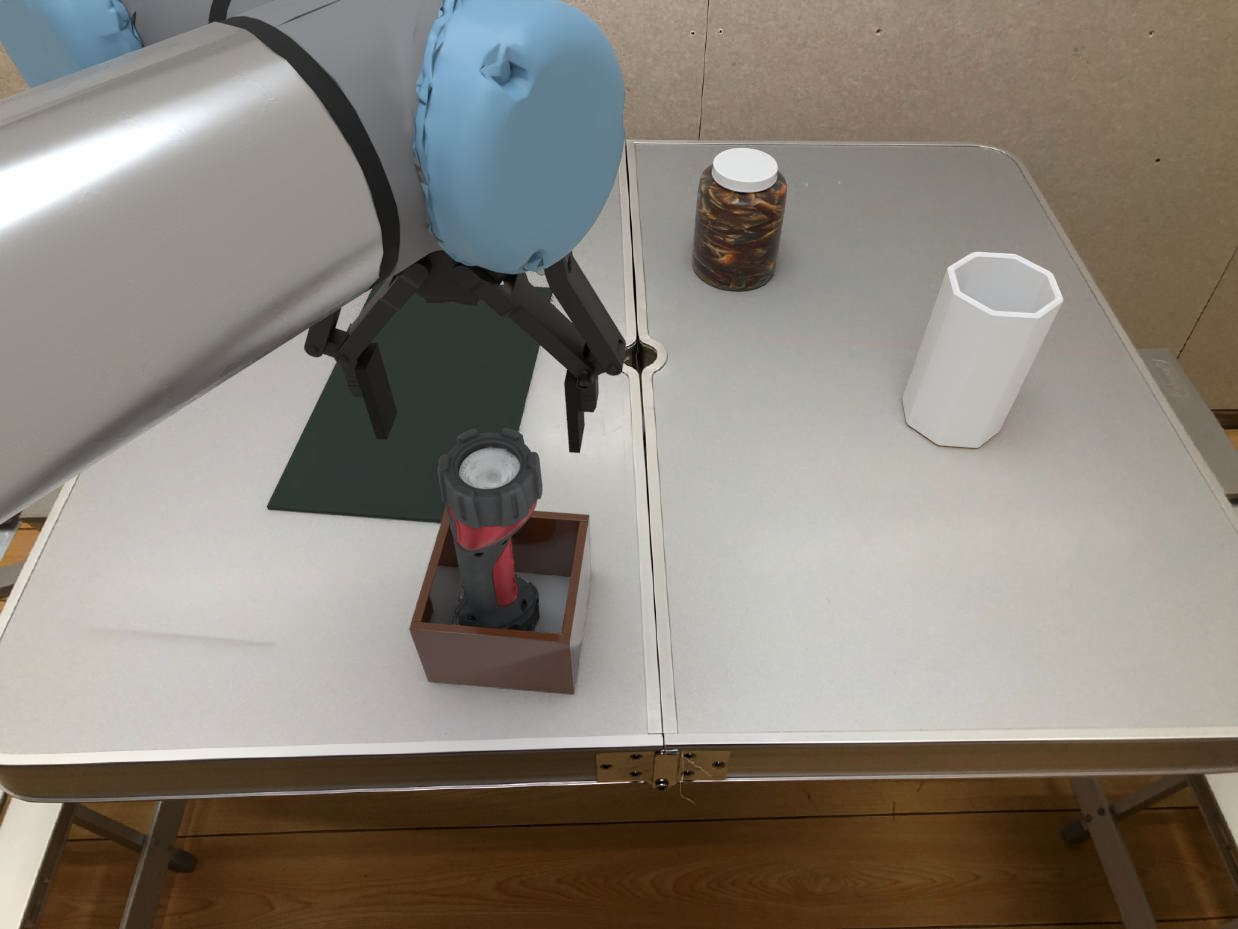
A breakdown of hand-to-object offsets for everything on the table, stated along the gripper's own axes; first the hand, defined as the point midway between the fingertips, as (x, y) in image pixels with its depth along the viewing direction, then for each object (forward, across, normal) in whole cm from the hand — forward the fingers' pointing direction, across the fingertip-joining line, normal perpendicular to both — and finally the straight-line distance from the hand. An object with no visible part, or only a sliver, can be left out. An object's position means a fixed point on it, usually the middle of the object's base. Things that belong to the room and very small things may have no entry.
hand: (481, 432), depth 59 cm
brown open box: (+26, 0, 0) cm, 26 cm away
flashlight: (+26, 0, 0) cm, 26 cm away
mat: (+26, +16, -31) cm, 43 cm away
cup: (+26, -45, -32) cm, 61 cm away
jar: (+26, -20, -59) cm, 67 cm away
